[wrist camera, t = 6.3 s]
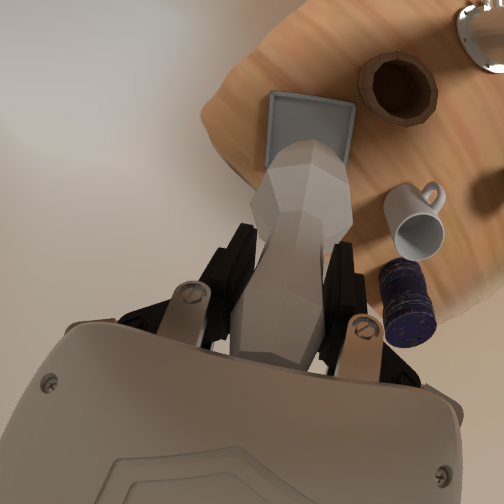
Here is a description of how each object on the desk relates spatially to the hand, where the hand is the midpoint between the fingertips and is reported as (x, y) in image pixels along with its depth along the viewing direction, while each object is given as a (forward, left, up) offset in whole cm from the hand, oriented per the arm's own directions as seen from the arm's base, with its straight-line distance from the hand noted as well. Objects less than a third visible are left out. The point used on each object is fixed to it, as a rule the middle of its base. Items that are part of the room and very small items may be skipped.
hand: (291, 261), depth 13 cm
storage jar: (+26, +22, -36) cm, 50 cm away
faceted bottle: (0, 0, -16) cm, 16 cm away
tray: (+1, -1, -36) cm, 36 cm away
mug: (+9, +18, -36) cm, 41 cm away
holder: (-9, +10, -36) cm, 38 cm away
